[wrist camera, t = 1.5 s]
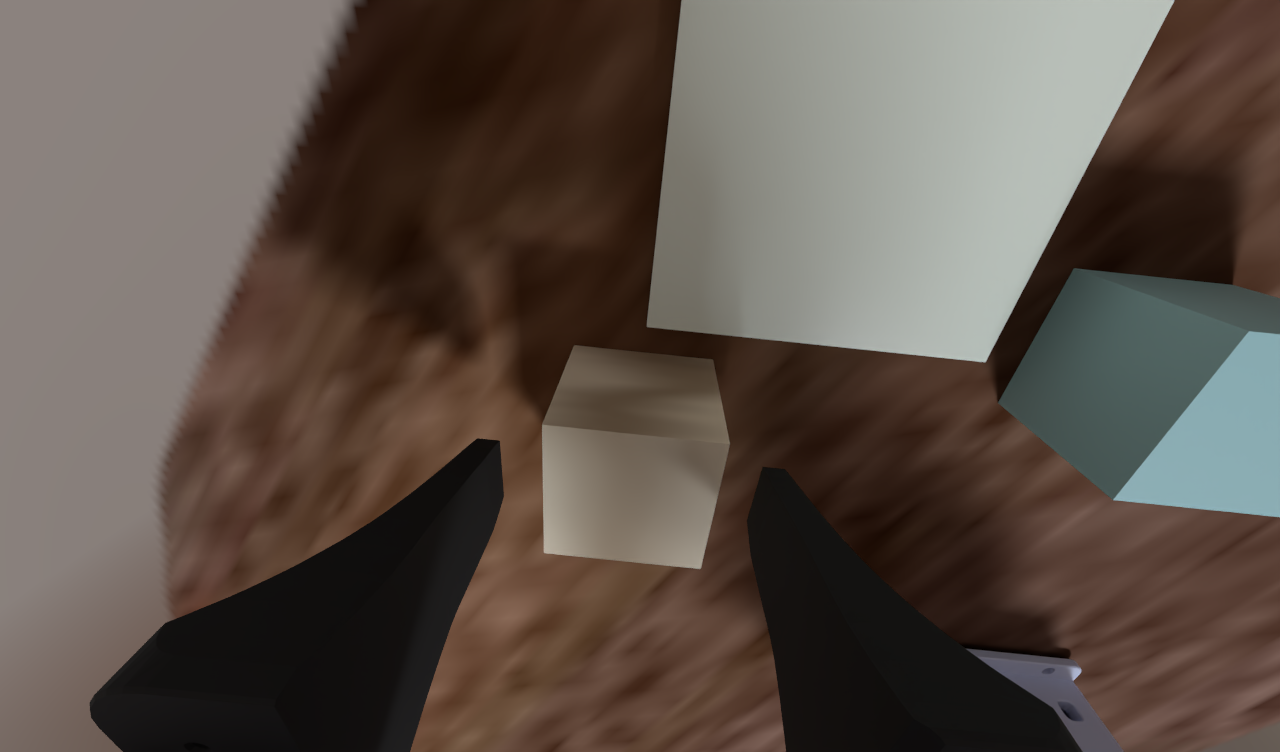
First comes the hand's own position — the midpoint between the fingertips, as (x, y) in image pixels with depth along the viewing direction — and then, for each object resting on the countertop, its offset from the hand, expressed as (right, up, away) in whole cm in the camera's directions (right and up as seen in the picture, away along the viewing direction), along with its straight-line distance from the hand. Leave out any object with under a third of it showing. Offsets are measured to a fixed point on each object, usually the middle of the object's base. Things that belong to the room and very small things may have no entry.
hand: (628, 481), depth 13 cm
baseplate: (+6, +9, -1) cm, 10 cm away
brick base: (0, +2, +3) cm, 4 cm away
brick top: (+15, +4, +1) cm, 15 cm away
